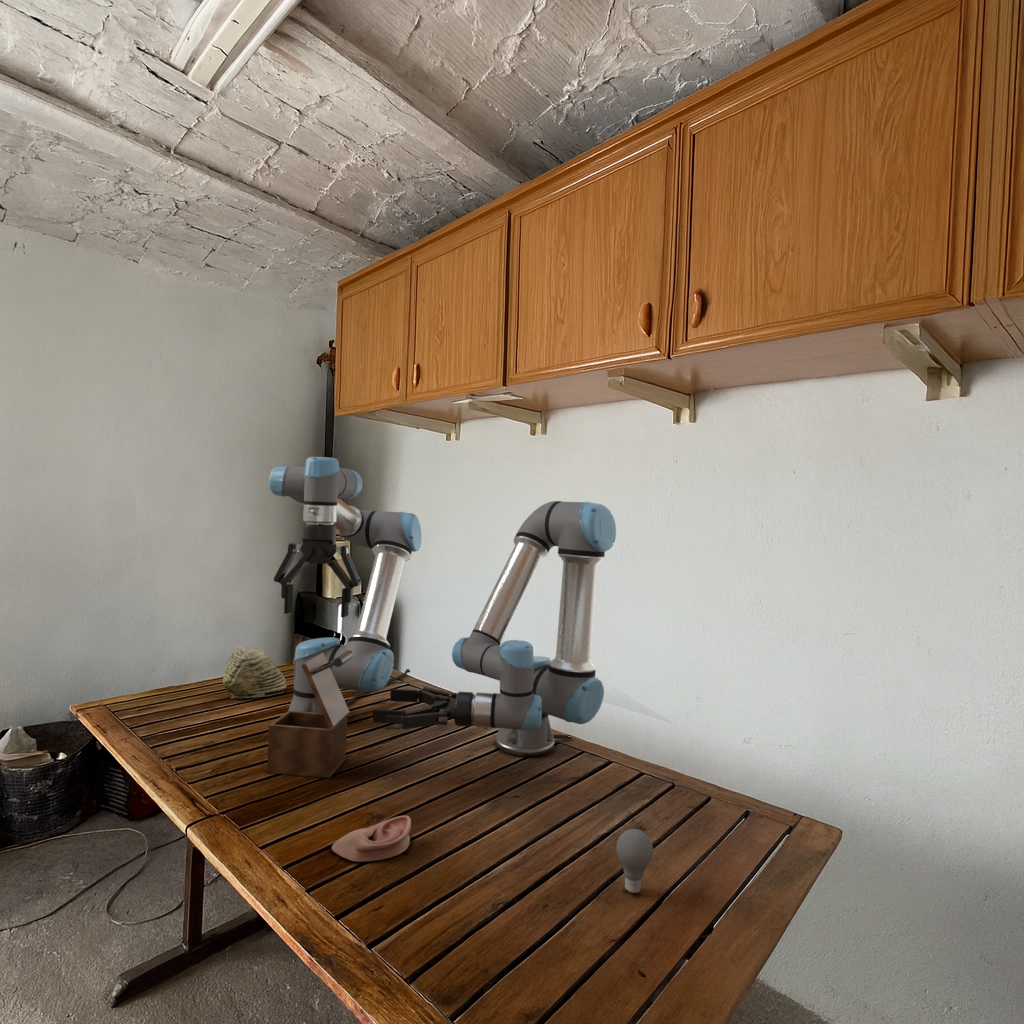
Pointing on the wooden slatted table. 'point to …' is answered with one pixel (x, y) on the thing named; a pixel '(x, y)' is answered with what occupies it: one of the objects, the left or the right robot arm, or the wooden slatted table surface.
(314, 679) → the lid
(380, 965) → the wooden slatted table surface
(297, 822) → the wooden slatted table surface
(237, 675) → the fossil
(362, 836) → the anatomical model
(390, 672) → the left robot arm
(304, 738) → the chest
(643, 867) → the light bulb
